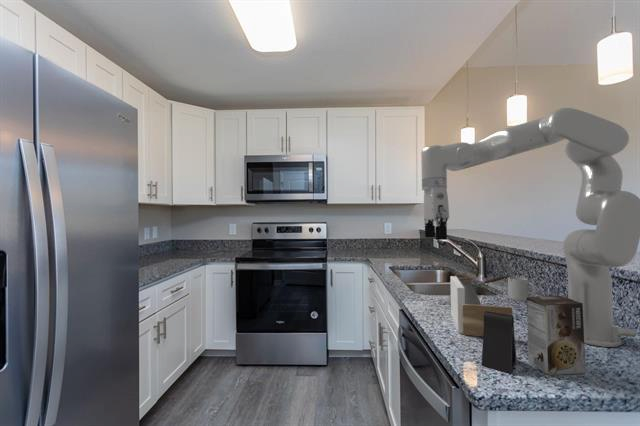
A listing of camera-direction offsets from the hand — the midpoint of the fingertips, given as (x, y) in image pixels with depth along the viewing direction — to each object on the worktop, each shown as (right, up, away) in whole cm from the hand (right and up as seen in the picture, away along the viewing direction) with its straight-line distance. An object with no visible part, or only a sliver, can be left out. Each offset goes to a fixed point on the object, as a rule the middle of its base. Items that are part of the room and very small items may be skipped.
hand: (435, 238), depth 95 cm
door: (+13, -29, -7) cm, 32 cm away
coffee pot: (+22, -29, +15) cm, 40 cm away
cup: (+49, -29, +31) cm, 65 cm away
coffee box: (+19, -29, -25) cm, 42 cm away
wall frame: (+9, -29, +5) cm, 31 cm away
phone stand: (+7, -29, -22) cm, 37 cm away
